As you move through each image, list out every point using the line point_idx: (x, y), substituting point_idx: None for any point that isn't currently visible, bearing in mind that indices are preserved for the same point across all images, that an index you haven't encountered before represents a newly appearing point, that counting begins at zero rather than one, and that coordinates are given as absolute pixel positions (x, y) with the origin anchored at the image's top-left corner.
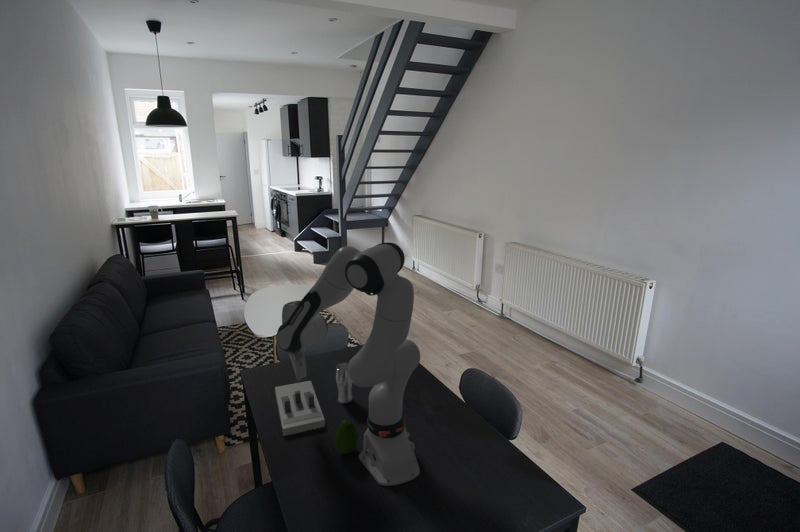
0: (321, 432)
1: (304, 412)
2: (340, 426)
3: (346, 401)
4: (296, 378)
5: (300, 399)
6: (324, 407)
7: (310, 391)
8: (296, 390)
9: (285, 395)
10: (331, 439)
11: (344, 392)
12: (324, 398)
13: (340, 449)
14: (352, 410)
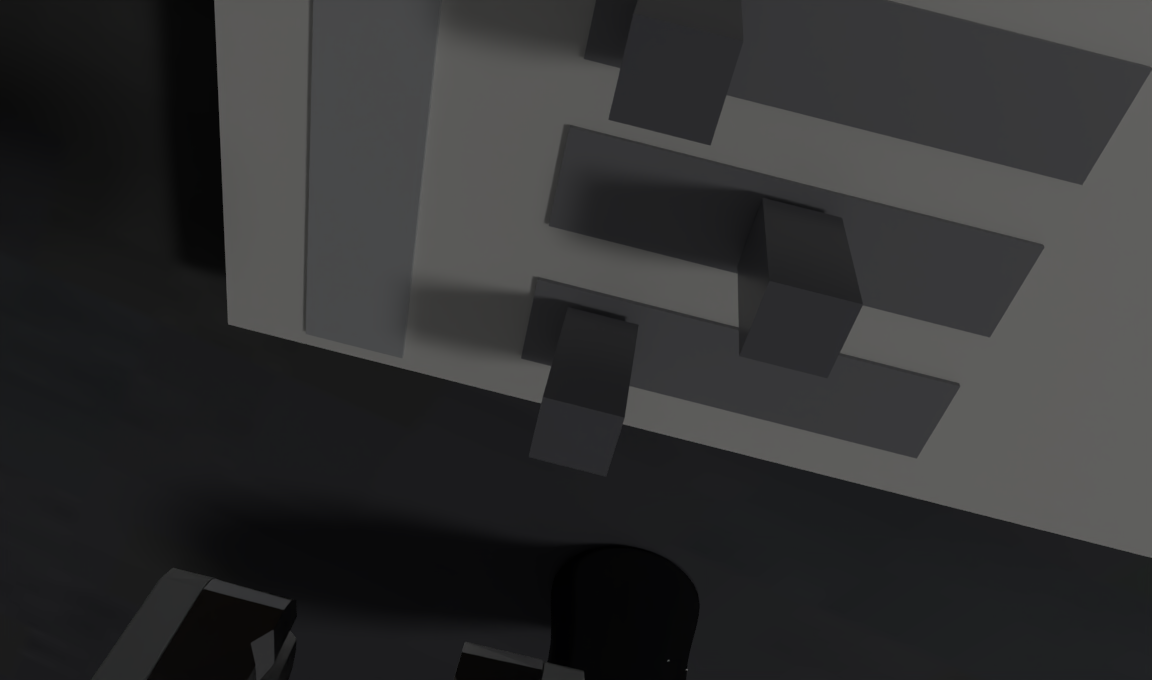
0: (187, 205)
1: (486, 202)
2: None
3: (552, 593)
4: (210, 615)
5: (739, 285)
6: None
7: (914, 458)
8: (1116, 340)
9: (1137, 153)
10: (44, 234)
11: None
12: (780, 487)
13: None
14: (422, 557)
